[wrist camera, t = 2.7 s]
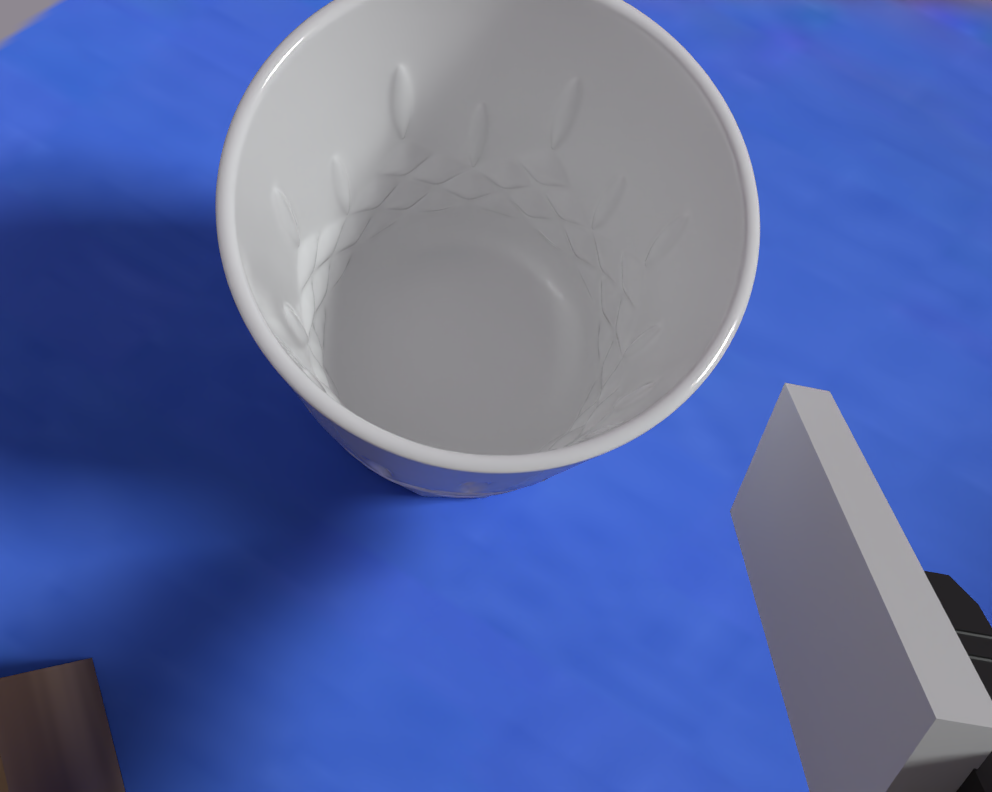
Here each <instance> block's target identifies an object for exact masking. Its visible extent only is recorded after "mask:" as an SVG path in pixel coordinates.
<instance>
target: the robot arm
mask: <svg viewBox="0 0 992 792" xmlns="http://www.w3.org/2000/svg"><path fill="white" fill-rule="evenodd" d="M730 513H731V516H732V520H733V523H734V527H735V530H736V534H737V537H738V541H739V544H740V548H741V551H742V555H743V558H744V562H745V565H746V569H747V573H748V576H749V580H750V583H751V587H752V590H753V594H754V597H755V601H756V604H757V608H758V611H759V615H760V618H761V622H762V625H763V629H764V632H765V636H766V639H767V643H768V646H769V650H770V653H771V657H772V660H773V664H774V668H775V671H776V675H777V678H778V682H779V685H780V689H781V692H782V696H783V699H784V703H785V706H786V710H787V713H788V717H789V720H790V724H791V727H792V731H793V734H794V738H795V741H796V745H797V748H798V752H799V755H800V759H801V762H802V766H803V770H804V773H805V777H806V780H807V784H808V787H809V791H810V792H992V628H991V626H990V624H989V622H988V621H987V619H986V617H985V615H984V614H983V612H982V610H981V608H980V607H979V605H978V604H977V603H976V602H975V601H974V600H973V599H972V598H971V597H970V596H969V595H968V594H967V593H966V592H965V591H964V590H963V589H962V588H961V587H960V586H959V585H958V584H957V583H956V582H955V581H954V580H953V579H952V578H951V577H950V576H949V575H944V574H939V573H933V572H928V571H924V570H923V569H922V567H921V565H920V563H919V561H918V559H917V557H916V555H915V553H914V551H913V549H912V548H911V546H910V544H909V542H908V540H907V538H906V536H905V534H904V532H903V530H902V529H901V527H900V525H899V523H898V521H897V519H896V517H895V515H894V513H893V511H892V509H891V508H890V506H889V504H888V502H887V500H886V498H885V496H884V494H883V492H882V490H881V488H880V487H879V485H878V483H877V481H876V479H875V477H874V475H873V473H872V471H871V469H870V468H869V466H868V464H867V462H866V460H865V458H864V456H863V454H862V452H861V450H860V448H859V447H858V445H857V443H856V441H855V439H854V437H853V435H852V433H851V431H850V429H849V427H848V426H847V424H846V422H845V420H844V418H843V416H842V414H841V412H840V410H839V408H838V407H837V405H836V403H835V401H834V399H833V397H832V395H831V393H830V391H825V390H820V389H814V388H809V387H804V386H799V385H793V384H788V383H785V384H784V386H783V389H782V391H781V393H780V396H779V398H778V400H777V403H776V405H775V407H774V410H773V412H772V414H771V417H770V419H769V421H768V424H767V426H766V428H765V431H764V433H763V435H762V438H761V440H760V442H759V445H758V447H757V449H756V452H755V454H754V456H753V459H752V461H751V463H750V466H749V468H748V470H747V473H746V475H745V477H744V480H743V482H742V484H741V487H740V489H739V492H738V494H737V496H736V499H735V501H734V503H733V506H732V508H731V510H730Z"/></svg>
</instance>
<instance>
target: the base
mask: <svg viewBox="0 0 992 792" xmlns="http://www.w3.org/2000/svg"><path fill="white" fill-rule="evenodd" d="M0 792H125V788H124V784H123V780H122V776H121V772H120V768H119V764H118V760H117V756H116V752H115V748H114V744H113V740H112V736H111V732H110V728H109V724H108V720H107V716H106V712H105V708H104V704H103V700H102V696H101V692H100V688H99V684H98V680H97V676H96V672H95V668H94V664H93V660H92V658H89V659H84V660H80V661H75V662H71V663H66V664H62V665H57V666H52V667H48V668H43V669H39V670H34V671H30V672H25V673H21V674H16V675H12V676H7V677H3V678H0Z"/></svg>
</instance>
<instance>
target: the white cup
mask: <svg viewBox="0 0 992 792" xmlns="http://www.w3.org/2000/svg"><path fill="white" fill-rule="evenodd" d="M216 228H217V237H218V244H219V250H220V255H221V260H222V264H223V268H224V272H225V276H226V279H227V282H228V285H229V288H230V291H231V294H232V296H233V299H234V301H235V304H236V306H237V308H238V310H239V313H240V315H241V317H242V319H243V321H244V323H245V325H246V326H247V328H248V330H249V332H250V334H251V335H252V337H253V339H254V340H255V342H256V343H257V345H258V346H259V348H260V349H261V351H262V352H263V354H264V355H265V357H266V358H267V359H268V361H269V362H270V363H271V364H272V366H273V367H274V368H275V369H276V371H277V372H278V373H279V374H280V375H281V377H282V378H283V379H284V380H285V381H286V383H287V384H288V385H289V386H290V387H291V389H292V390H293V391H294V392H295V393H296V395H297V396H298V397H299V398H300V399H301V401H302V402H303V403H304V404H305V406H306V407H307V409H308V410H309V411H310V413H311V414H312V415H313V416H314V417H315V419H316V420H317V421H318V422H319V423H320V424H321V425H322V427H323V428H324V429H325V430H326V431H327V432H328V433H329V434H330V435H331V436H332V437H333V438H334V439H335V440H336V441H337V442H339V443H340V444H341V445H342V446H343V447H344V448H345V449H346V450H347V451H348V452H349V453H350V454H351V455H352V456H353V457H355V458H356V459H357V460H359V461H360V462H361V463H363V464H364V466H365V467H366V468H368V469H370V470H372V471H374V472H376V473H377V474H379V475H380V476H382V477H384V478H385V479H387V480H390V481H392V482H394V483H397V484H399V485H401V486H403V487H405V488H407V489H408V490H410V491H412V492H414V493H416V494H418V495H420V496H425V497H453V498H486V497H489V496H491V495H498V494H503V493H507V492H510V491H514V490H517V489H520V488H524V487H527V486H531V485H534V484H536V483H539V482H541V481H545V480H546V479H548V478H550V477H552V476H554V475H556V474H559V473H561V472H564V471H566V470H568V469H570V468H572V467H575V466H577V465H579V464H581V463H583V462H585V461H588V460H590V459H592V458H595V457H597V456H599V455H602V454H604V453H607V452H609V451H611V450H613V449H616V448H618V447H620V446H622V445H624V444H626V443H628V442H630V441H631V440H633V439H635V438H637V437H638V436H640V435H642V434H643V433H645V432H647V431H648V430H650V429H651V428H653V427H654V426H656V425H657V424H658V423H660V422H661V421H662V420H664V419H665V418H666V417H668V416H669V415H670V414H671V413H673V412H674V411H675V410H676V409H677V408H678V407H680V406H681V405H682V404H683V403H684V402H685V401H686V400H687V399H688V398H689V397H690V396H691V395H692V394H693V393H694V392H695V391H696V390H697V389H698V388H699V386H700V385H701V384H702V383H703V382H704V381H705V379H706V378H707V377H708V376H709V374H710V373H711V372H712V371H713V369H714V368H715V366H716V365H717V364H718V362H719V361H720V359H721V358H722V356H723V355H724V353H725V351H726V350H727V348H728V346H729V344H730V343H731V341H732V339H733V337H734V335H735V333H736V331H737V329H738V327H739V325H740V322H741V320H742V317H743V315H744V312H745V310H746V307H747V304H748V301H749V298H750V294H751V291H752V287H753V283H754V279H755V274H756V268H757V262H758V254H759V243H760V214H759V202H758V194H757V188H756V182H755V177H754V173H753V168H752V165H751V161H750V158H749V154H748V151H747V148H746V145H745V142H744V140H743V137H742V135H741V132H740V130H739V128H738V125H737V123H736V121H735V119H734V117H733V115H732V113H731V111H730V109H729V107H728V106H727V104H726V102H725V100H724V99H723V97H722V95H721V94H720V92H719V91H718V89H717V88H716V86H715V85H714V83H713V82H712V80H711V79H710V78H709V76H708V75H707V74H706V72H705V71H704V70H703V69H702V67H701V66H700V65H699V64H698V63H697V61H696V60H695V59H694V58H693V57H692V56H691V55H690V54H689V53H688V51H687V50H686V49H685V48H684V47H683V46H682V45H681V44H680V43H679V42H678V41H676V40H675V39H674V38H673V37H672V36H671V35H670V34H669V33H668V32H666V31H665V30H664V29H663V28H662V27H660V26H659V25H658V24H657V23H655V22H654V21H653V20H651V19H650V18H649V17H647V16H646V15H645V14H643V13H642V12H640V11H639V10H637V9H636V8H634V7H633V6H631V5H629V4H628V3H626V2H624V1H623V0H333V1H332V2H330V3H329V4H327V5H326V6H324V7H323V8H321V9H320V10H318V11H317V12H315V13H314V14H313V15H311V16H310V17H309V18H308V19H306V20H305V21H304V22H303V23H301V24H300V25H299V26H298V27H297V28H296V29H295V30H294V31H292V32H291V33H290V34H289V35H288V36H287V37H286V38H285V39H284V40H283V41H282V42H281V43H280V44H279V46H278V47H277V48H276V49H275V50H274V51H273V52H272V53H271V55H270V56H269V57H268V58H267V60H266V61H265V62H264V64H263V65H262V66H261V68H260V69H259V70H258V72H257V73H256V75H255V76H254V78H253V79H252V81H251V83H250V84H249V86H248V88H247V89H246V91H245V93H244V95H243V97H242V99H241V101H240V103H239V105H238V107H237V109H236V112H235V114H234V116H233V119H232V121H231V124H230V127H229V129H228V132H227V136H226V139H225V142H224V146H223V150H222V154H221V159H220V164H219V170H218V177H217V186H216Z"/></svg>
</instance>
